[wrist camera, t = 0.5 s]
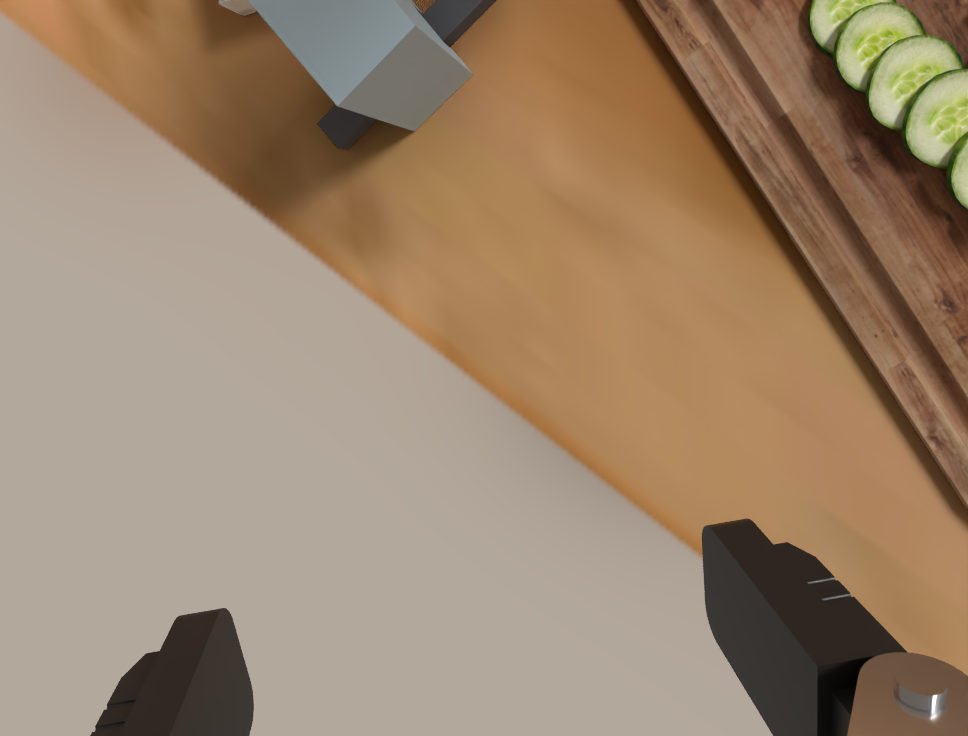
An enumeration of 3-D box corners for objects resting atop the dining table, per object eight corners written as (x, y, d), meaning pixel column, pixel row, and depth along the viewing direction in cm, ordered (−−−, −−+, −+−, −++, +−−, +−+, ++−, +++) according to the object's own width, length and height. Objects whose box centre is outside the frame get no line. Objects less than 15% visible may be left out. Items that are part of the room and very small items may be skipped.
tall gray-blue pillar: (407, -7, 38) (322, -86, 27) (473, 74, 38) (415, 25, 27) (349, 54, 39) (247, -1, 28) (414, 131, 39) (337, 106, 28)
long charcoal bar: (479, -29, 37) (473, -39, 35) (500, -4, 37) (495, -12, 35) (328, 126, 40) (316, 123, 38) (347, 149, 40) (337, 147, 38)
